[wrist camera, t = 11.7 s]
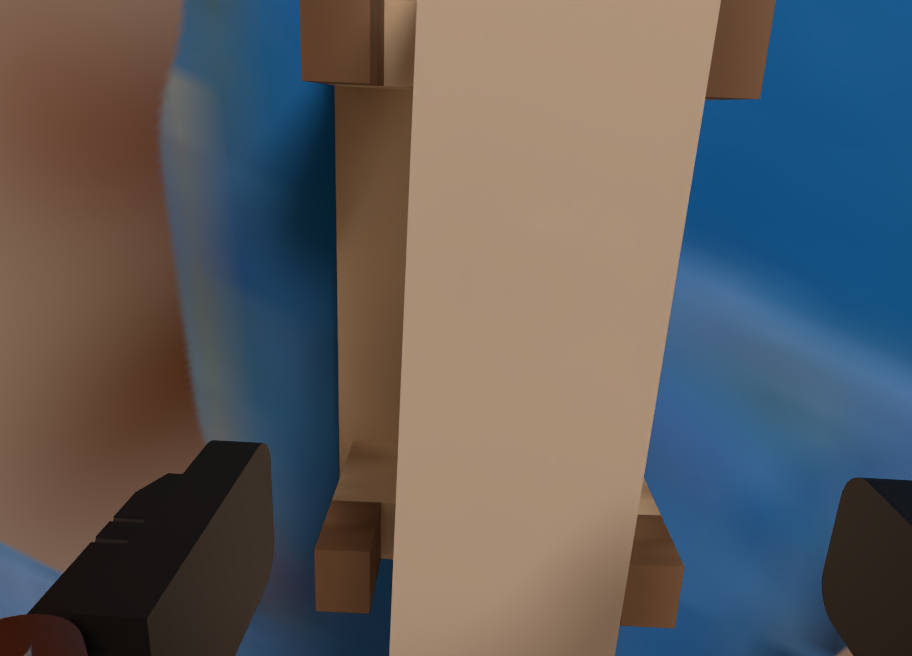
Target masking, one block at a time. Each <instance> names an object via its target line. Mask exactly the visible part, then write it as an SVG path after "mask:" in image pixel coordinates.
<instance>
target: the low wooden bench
mask: <svg viewBox="0 0 912 656" xmlns="http://www.w3.org/2000/svg"><path fill="white" fill-rule="evenodd" d="M775 1H776V0H721V4H720V10H719V16H718V22H717V28H716V34H715V41H714V47H713V53H712V59H711V65H710V71H709V78H708V84H707V90H706V96H705V100H730V99H760V94H761V88H762V82H763V76H764V69H765V63H766V57H767V51H768V44H769V38H770V32H771V26H772V20H773V13H774V7H775ZM416 13H417V0H300V31H301V69H302V81H308V82H315V83H323V84H330V85H335V154H336V229H337V305H338V381H339V456H340V479H339V482H338V485H337V487H336V490H335V493H334V496H333V499H332V501H331V504H330V507H329V510H328V513H327V515H326V518H325V521H324V524H323V527H322V529H321V532H320V535H319V538H318V541H317V543H316V546H315V549H314V559H315V597H316V611H326V612H347V613H368V614H369V613H370V608H371V603H372V599H373V594H374V589H375V584H376V579H377V574H378V569H379V564H380V559H393V557H394V533H395V510H396V486H397V462H398V439H399V415H400V391H401V368H402V344H403V321H404V297H405V273H406V250H407V226H408V202H409V179H410V155H411V132H412V108H413V84H414V61H415V37H416ZM683 573H684V565H683V563H682V561H681V559H680V556H679V554H678V552H677V550H676V548H675V545H674V543H673V541H672V539H671V537H670V534H669V532H668V530H667V528H666V526H665V523H664V521H663V519H662V517H661V515H660V512H659V510H658V508H657V506H656V504H655V501H654V499H653V497H652V495H651V493H650V490H649V488H648V486H647V484H646V482H645V479H644V478H643V484H642V491H641V497H640V503H639V509H638V515H637V521H636V527H635V534H634V540H633V546H632V552H631V558H630V564H629V571H628V577H627V583H626V589H625V595H624V601H623V608H622V614H621V620H620V626H638V627H659V628H675V622H676V616H677V610H678V604H679V598H680V591H681V585H682V579H683Z"/></svg>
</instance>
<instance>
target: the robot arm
mask: <svg viewBox="0 0 912 656" xmlns="http://www.w3.org/2000/svg"><path fill="white" fill-rule="evenodd" d="M273 551H274V527H273V504H272V481H271V460H270V452H269V449H268V446H267V445H266V444H265V443H253V442H235V441H217V440H212V441H210V442H209V443H208V444H207V445H206V446H205V447H204V448H203V450H202V451H201V452H200V453H199V455H198V456H197V457H196V458H195V460H194V461H193V462H192V463H191V464H190V466H189V467H188V468H187V469H186V471H185V472H184V473H183V474H172V473H171V474H170V473H168V474H166V475H164V476H163V477H161V478H159V479H157V480H156V481H154V482H153V483H151V484H149V485H147V486H146V487H144V488H142V489H140V490H139V491H137V492H135V494H134V495H133V496H132V497H131V498H130V499H129V500H128V501H127V502H126V503H125V505H124V506H123V507H122V508H121V509H120V510H119V512H117V513H116V515H115V516H114V520H113V521H110V522H108V524H107V525H106V526H105V527H104V528H103V529H102V530H101V532H100V533H99V534H98V535H97V536H96V540H95V542H91V543H90V544H89V545H88V546H87V547H86V548H85V549H84V551H83V552H82V553H81V554H80V555H79V556H78V557H77V559H76V560H75V561H74V562H73V563H72V564H71V565H70V566H69V567H68V569H67V570H66V571H65V572H64V573H63V574H62V575H61V576H60V578H59V579H58V580H57V581H56V582H55V583H54V584H53V585H52V587H51V588H50V589H49V590H48V591H47V592H46V593H45V594H44V596H43V597H42V598H41V599H40V600H39V601H38V602H37V603H36V605H35V606H34V607H33V608H32V609H31V610H30V611H29V612H28V613H27V614H25V615H17V616H11V617H6V618H2V619H0V656H235V655H236V652H237V650H238V648H239V646H240V644H241V641H242V639H243V637H244V635H245V632H246V630H247V628H248V626H249V623H250V621H251V619H252V617H253V614H254V612H255V610H256V608H257V606H258V603H259V601H260V599H261V597H262V594H263V592H264V590H265V588H266V585H267V582H268V579H269V575H270V571H271V566H272V560H273ZM822 596H823V601H824V605H825V609H826V612H827V615H828V617H829V619H830V621H831V623H832V624H833V626H834V627H835V629H836V630H837V632H838V633H839V635H840V636H841V638H842V639H843V641H844V642H845V644H846V645H847V647H848V648H849V650H850V651H851V653H852V654H853V656H912V481H910V480H893V479H875V478H853V479H851V480H850V481H849V482H847V484H846V485H845V487H844V489H843V491H842V495H841V498H840V503H839V507H838V511H837V515H836V519H835V523H834V528H833V532H832V536H831V540H830V544H829V549H828V553H827V557H826V561H825V565H824V569H823V575H822Z"/></svg>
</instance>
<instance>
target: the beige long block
mask: <svg viewBox="0 0 912 656" xmlns="http://www.w3.org/2000/svg"><path fill="white" fill-rule="evenodd" d="M720 4H721V0H417V13H416V37H415V61H414V84H413V108H412V132H411V155H410V179H409V202H408V226H407V250H406V273H405V297H404V321H403V344H402V368H401V391H400V415H399V439H398V462H397V486H396V510H395V533H394V557H393V580H392V604H391V628H390V651H389V656H615V651H616V645H617V638H618V632H619V626H620V620H621V614H622V608H623V601H624V595H625V589H626V583H627V577H628V571H629V564H630V558H631V552H632V546H633V540H634V534H635V527H636V521H637V515H638V509H639V503H640V497H641V491H642V484H643V478H644V472H645V466H646V460H647V454H648V447H649V441H650V435H651V429H652V423H653V417H654V410H655V404H656V398H657V392H658V386H659V380H660V373H661V367H662V361H663V355H664V349H665V343H666V336H667V330H668V324H669V318H670V312H671V306H672V299H673V293H674V287H675V281H676V275H677V269H678V262H679V256H680V250H681V244H682V238H683V232H684V226H685V219H686V213H687V207H688V201H689V195H690V189H691V182H692V176H693V170H694V164H695V158H696V152H697V145H698V139H699V133H700V127H701V121H702V115H703V108H704V102H705V96H706V90H707V84H708V78H709V71H710V65H711V59H712V53H713V47H714V41H715V34H716V28H717V22H718V16H719V10H720Z"/></svg>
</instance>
